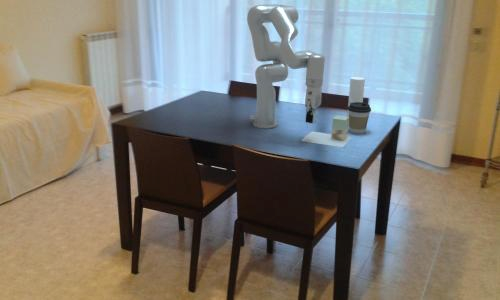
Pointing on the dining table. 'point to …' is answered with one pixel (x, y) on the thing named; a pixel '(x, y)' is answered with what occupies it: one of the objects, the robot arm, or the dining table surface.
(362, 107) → the coffee cup
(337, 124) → the top block
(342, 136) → the bottom block
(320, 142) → the white rectangular slab
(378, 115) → the dining table surface
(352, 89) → the cylindrical container
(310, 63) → the robot arm
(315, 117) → the pale white cylinder
